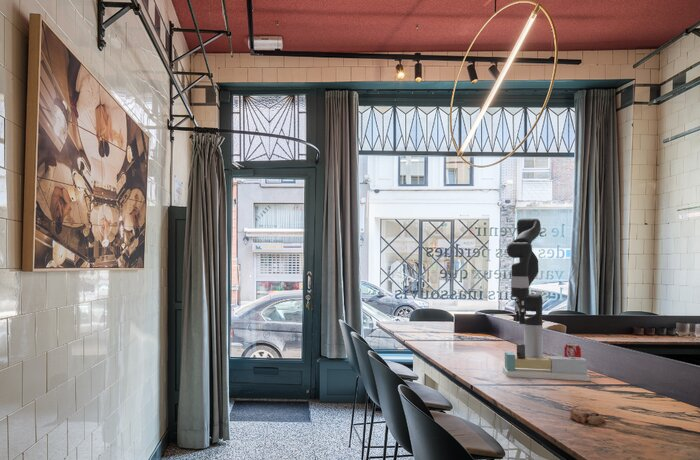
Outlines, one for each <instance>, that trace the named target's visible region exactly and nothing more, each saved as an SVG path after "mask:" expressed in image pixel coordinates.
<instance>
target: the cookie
mask: <svg viewBox="0 0 700 460" xmlns="http://www.w3.org/2000/svg"><path fill="white" fill-rule="evenodd" d="M569 418H570V419H571V420H574V421H576V422H579V423H582V424H584V425H586V424H587V425H593V426H594V425H595V426H597V425H601V424H603V423H605V421H606V419H605V417H604V416H602V415H600V414H599V413H598V412H597V411H596V410H593V409H590V408H583V407H582V408H580V407H579V408H573V409H571V410H570V417H569Z"/></svg>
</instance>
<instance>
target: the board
mask: <svg viewBox="0 0 700 460" xmlns="http://www.w3.org/2000/svg"><path fill="white" fill-rule="evenodd" d="M502 372H503V373H504V375H505V377H511V378H526V379H527V378H532V379H547V380H549V379H550V380H564V381H565V380H566V381H567V380H568V381H584V382H585V381H586V382H590V381H591V375H589V374H588V373H587V374H568V373H552V372H551V371H550V370H546V369H526V368H515V371H507V369H506V368H505V365H502Z"/></svg>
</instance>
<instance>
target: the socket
mask: <svg viewBox="0 0 700 460" xmlns="http://www.w3.org/2000/svg"><path fill="white" fill-rule="evenodd" d="M515 354H516V353H514V352H513V351H509V350H508V351H504V366H505V368H506V369H507V371H515V357H516V355H515Z"/></svg>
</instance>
